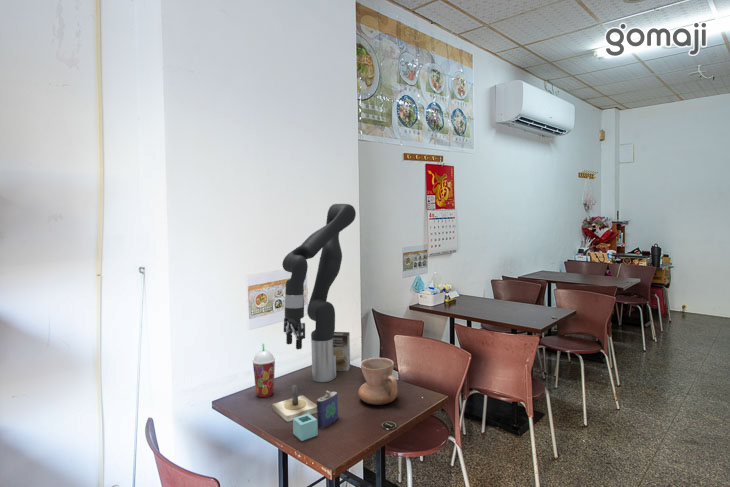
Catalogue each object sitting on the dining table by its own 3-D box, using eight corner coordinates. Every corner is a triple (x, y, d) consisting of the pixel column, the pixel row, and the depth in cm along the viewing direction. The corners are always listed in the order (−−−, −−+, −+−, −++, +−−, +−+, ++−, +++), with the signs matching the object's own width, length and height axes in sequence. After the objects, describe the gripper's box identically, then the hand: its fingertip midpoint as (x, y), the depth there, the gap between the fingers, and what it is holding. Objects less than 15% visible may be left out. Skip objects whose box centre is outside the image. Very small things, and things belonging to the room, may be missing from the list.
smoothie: (278, 390, 167) (277, 340, 166) (272, 399, 159) (270, 347, 158) (258, 390, 168) (256, 340, 167) (250, 398, 160) (248, 347, 159)
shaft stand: (302, 400, 158) (302, 376, 157) (318, 411, 148) (318, 386, 147) (272, 409, 151) (271, 384, 150) (287, 422, 141) (286, 395, 140)
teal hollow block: (309, 428, 136) (308, 413, 136) (317, 435, 132) (317, 419, 132) (293, 433, 133) (292, 418, 133) (301, 441, 129) (301, 425, 128)
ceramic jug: (348, 398, 158) (347, 361, 158) (378, 388, 167) (377, 352, 166) (379, 415, 144) (378, 374, 143) (410, 403, 153) (409, 364, 152)
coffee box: (327, 371, 187) (326, 335, 186) (331, 365, 194) (330, 331, 193) (348, 371, 186) (347, 335, 185) (350, 366, 193) (349, 331, 192)
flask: (334, 416, 144) (333, 385, 144) (340, 418, 143) (340, 387, 142) (315, 427, 137) (314, 395, 136) (322, 429, 135) (321, 397, 135)
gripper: (311, 307, 163) (311, 349, 163) (295, 302, 174) (294, 341, 175) (293, 309, 158) (293, 352, 159) (278, 303, 170) (277, 343, 170)
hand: (293, 346), depth 167 cm, fingers open, 8 cm apart
